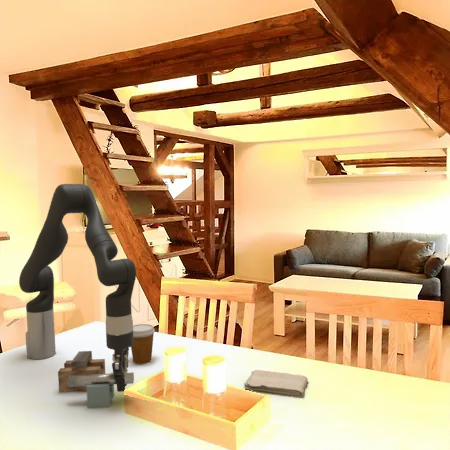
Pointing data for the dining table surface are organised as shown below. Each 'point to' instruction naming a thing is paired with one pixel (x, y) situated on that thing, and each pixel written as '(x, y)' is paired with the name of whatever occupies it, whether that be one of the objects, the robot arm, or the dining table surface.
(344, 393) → the dining table surface
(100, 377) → the steel axle
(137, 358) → the disposable coffee cup
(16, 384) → the dining table surface
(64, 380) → the walnut bearing block
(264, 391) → the washcloth
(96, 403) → the slate V-block
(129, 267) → the robot arm
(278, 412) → the dining table surface
